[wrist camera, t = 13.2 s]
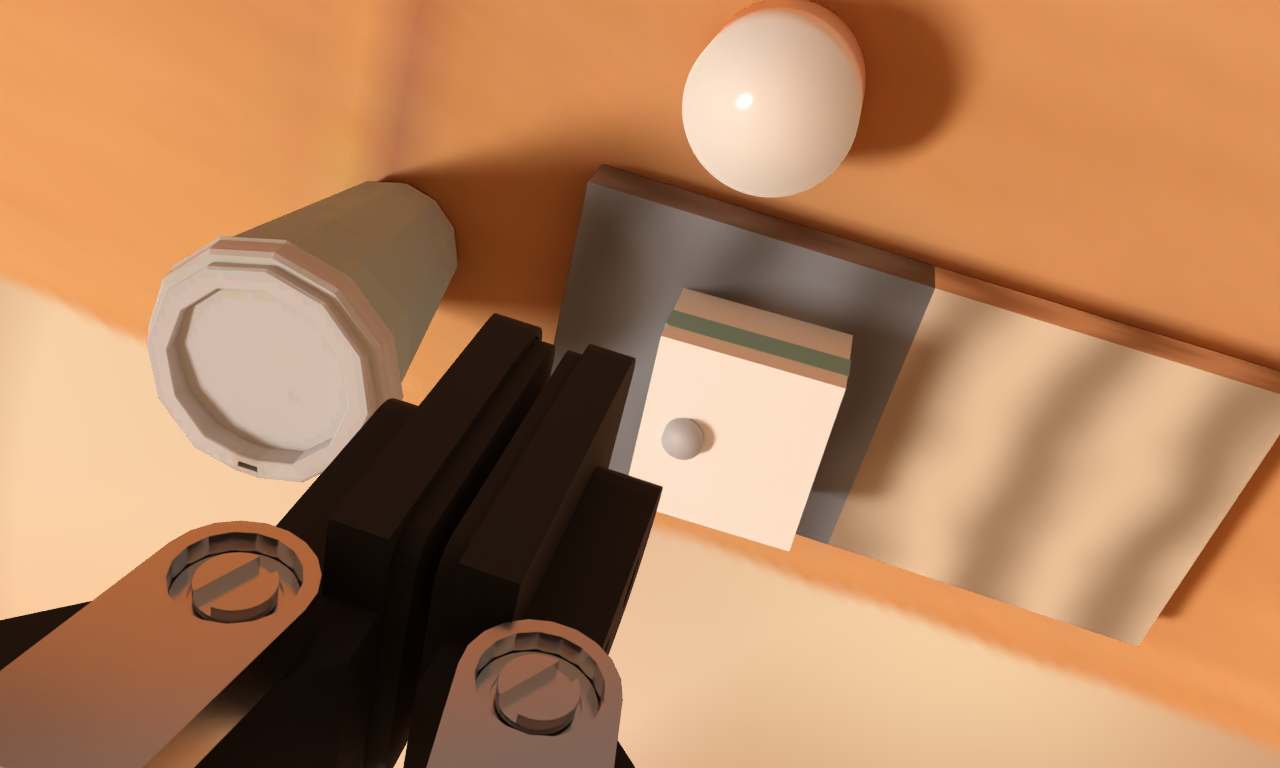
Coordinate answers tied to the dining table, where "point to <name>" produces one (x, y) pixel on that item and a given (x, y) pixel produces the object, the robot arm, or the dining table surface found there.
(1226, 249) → the dining table surface
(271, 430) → the disposable coffee cup
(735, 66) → the white domed cylinder
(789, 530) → the carton
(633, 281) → the beige flat board
